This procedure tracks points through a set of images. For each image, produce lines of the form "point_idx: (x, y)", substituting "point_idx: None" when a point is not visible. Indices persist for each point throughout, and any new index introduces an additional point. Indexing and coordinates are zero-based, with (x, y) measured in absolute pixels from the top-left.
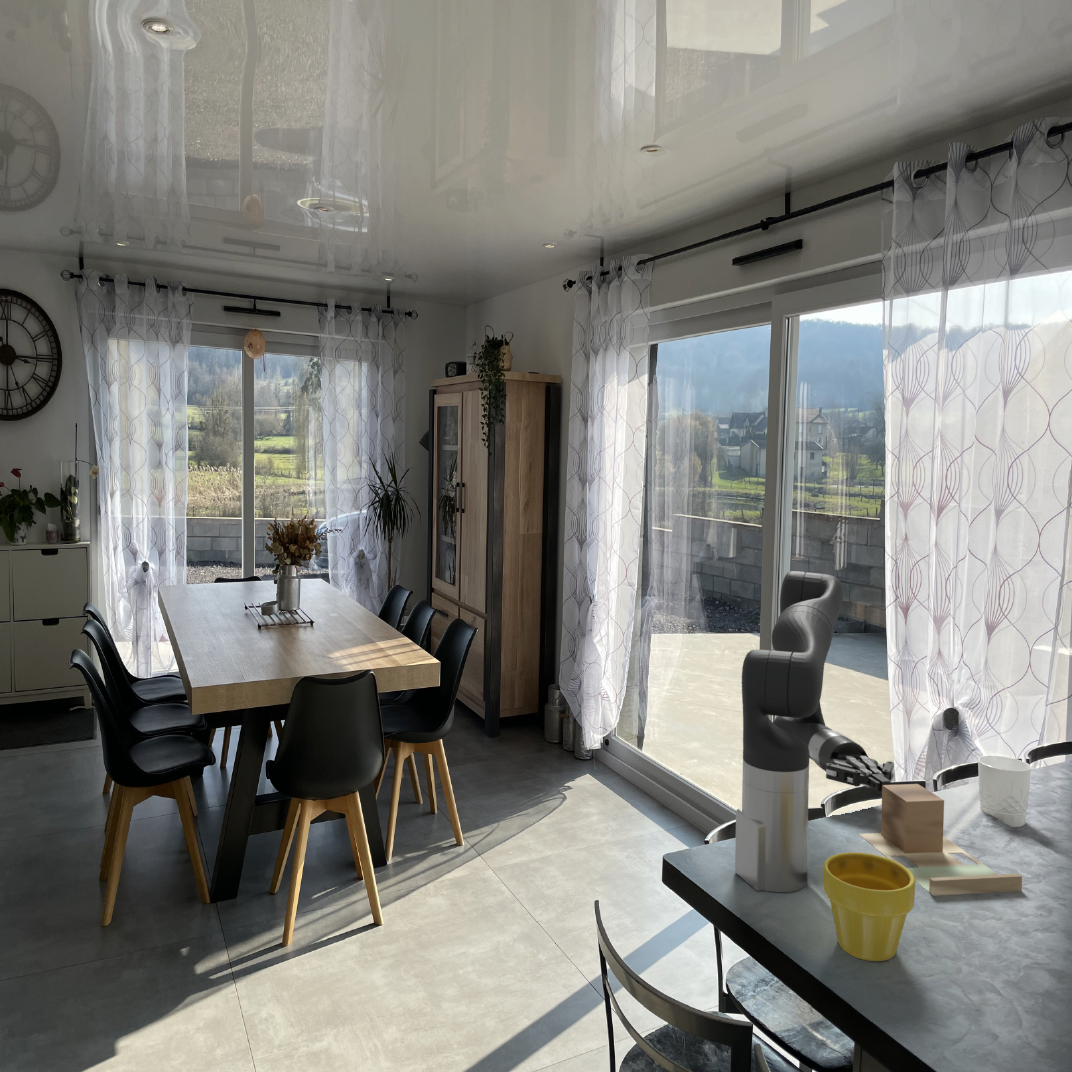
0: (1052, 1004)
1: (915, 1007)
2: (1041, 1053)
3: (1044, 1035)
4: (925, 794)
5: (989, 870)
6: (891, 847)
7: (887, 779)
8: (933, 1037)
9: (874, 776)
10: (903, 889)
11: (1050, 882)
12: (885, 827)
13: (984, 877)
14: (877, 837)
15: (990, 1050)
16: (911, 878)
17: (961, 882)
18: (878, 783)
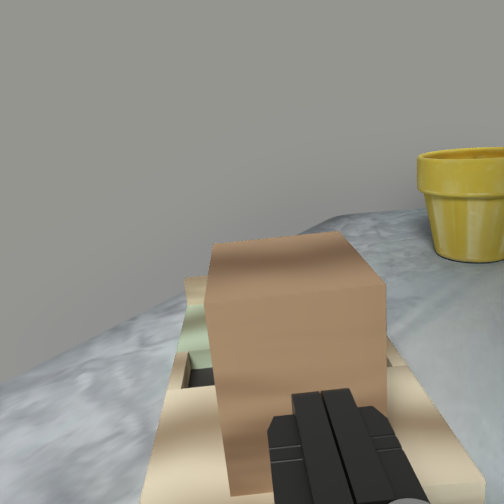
0: None
1: (429, 224)
2: (346, 216)
3: (334, 222)
4: (244, 257)
5: (186, 336)
6: None
7: (297, 411)
8: (422, 214)
9: (377, 458)
10: (436, 151)
11: (70, 360)
12: None
13: None
14: (408, 455)
15: (382, 214)
16: (421, 155)
17: None
18: (369, 408)
